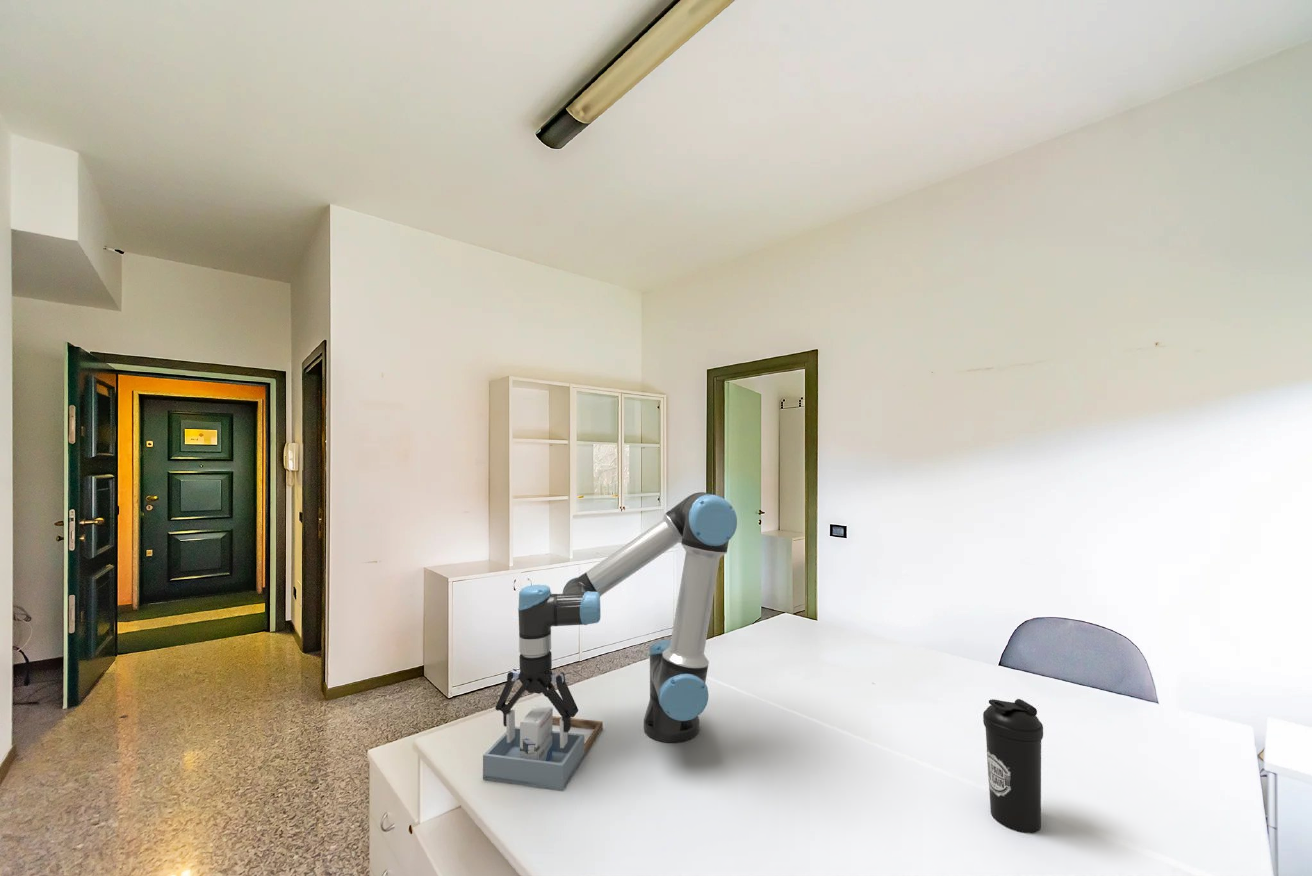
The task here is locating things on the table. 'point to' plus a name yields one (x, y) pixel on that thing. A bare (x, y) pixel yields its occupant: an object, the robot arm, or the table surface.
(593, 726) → the walnut frame
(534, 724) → the ink box
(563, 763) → the grey bin
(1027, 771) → the water bottle
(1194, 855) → the table surface
